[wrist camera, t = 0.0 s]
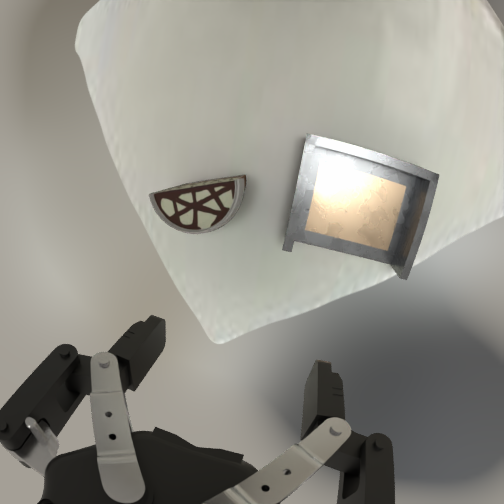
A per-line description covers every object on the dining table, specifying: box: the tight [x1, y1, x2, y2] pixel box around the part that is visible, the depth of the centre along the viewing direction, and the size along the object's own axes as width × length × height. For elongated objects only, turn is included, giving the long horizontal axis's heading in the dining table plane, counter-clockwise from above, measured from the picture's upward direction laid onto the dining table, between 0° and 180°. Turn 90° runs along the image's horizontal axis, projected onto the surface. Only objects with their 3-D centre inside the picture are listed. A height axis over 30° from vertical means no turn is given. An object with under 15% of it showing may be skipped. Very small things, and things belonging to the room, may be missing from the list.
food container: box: [149, 175, 246, 234], centre depth 37 cm, size 12×6×10 cm, turn 98°
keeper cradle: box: [282, 134, 439, 280], centre depth 35 cm, size 15×18×6 cm
